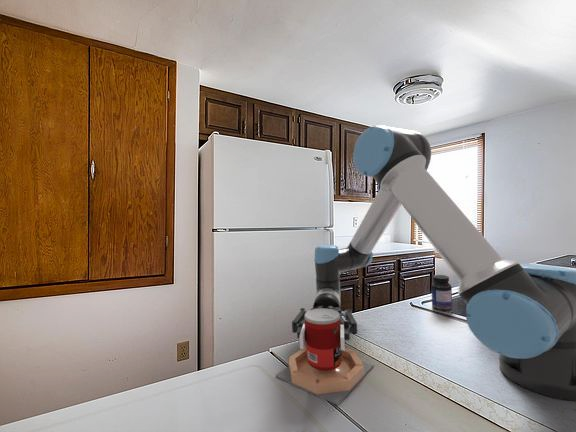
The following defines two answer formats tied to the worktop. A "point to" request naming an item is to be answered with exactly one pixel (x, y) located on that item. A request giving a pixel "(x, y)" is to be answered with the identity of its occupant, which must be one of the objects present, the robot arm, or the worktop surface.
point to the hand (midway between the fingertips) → (321, 343)
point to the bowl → (326, 373)
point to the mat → (331, 397)
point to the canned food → (323, 339)
